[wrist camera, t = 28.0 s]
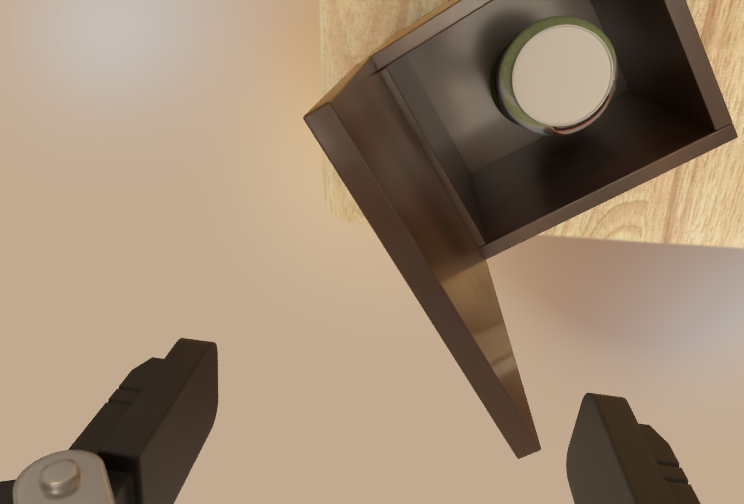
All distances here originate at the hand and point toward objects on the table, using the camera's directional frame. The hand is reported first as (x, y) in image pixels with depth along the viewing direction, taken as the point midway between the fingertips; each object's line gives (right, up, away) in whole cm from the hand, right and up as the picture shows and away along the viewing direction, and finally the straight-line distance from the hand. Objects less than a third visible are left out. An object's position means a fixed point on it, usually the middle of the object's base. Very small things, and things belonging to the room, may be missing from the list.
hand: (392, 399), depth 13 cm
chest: (+9, +16, +28) cm, 34 cm away
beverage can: (+10, +16, +28) cm, 34 cm away
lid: (+2, +5, +10) cm, 11 cm away
